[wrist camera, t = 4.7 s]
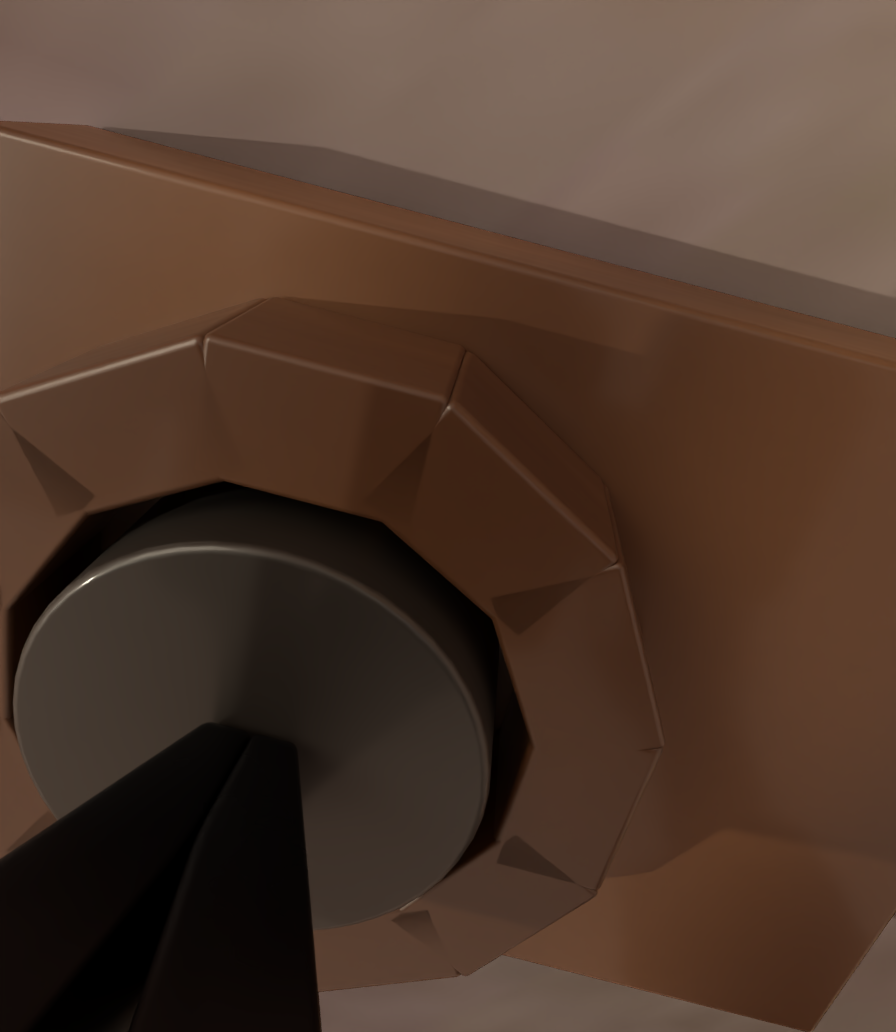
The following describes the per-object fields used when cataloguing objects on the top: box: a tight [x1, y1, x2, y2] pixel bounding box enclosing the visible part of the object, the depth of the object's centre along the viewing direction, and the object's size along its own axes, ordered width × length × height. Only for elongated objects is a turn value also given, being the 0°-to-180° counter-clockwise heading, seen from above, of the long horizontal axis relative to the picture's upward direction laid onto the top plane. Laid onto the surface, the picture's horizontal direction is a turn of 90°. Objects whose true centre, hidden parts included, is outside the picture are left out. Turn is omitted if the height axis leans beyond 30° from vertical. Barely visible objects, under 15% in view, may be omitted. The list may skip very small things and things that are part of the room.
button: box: [13, 481, 499, 931], centre depth 8 cm, size 4×4×2 cm
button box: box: [0, 121, 896, 1032], centre depth 10 cm, size 12×9×4 cm
